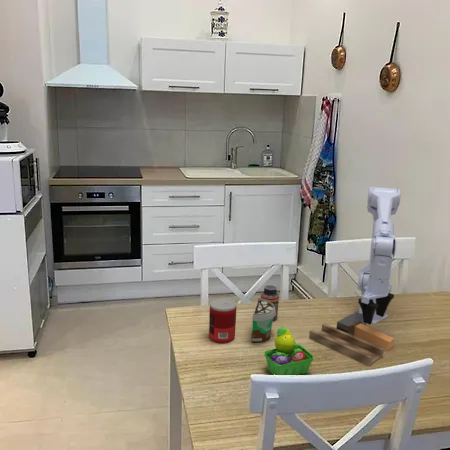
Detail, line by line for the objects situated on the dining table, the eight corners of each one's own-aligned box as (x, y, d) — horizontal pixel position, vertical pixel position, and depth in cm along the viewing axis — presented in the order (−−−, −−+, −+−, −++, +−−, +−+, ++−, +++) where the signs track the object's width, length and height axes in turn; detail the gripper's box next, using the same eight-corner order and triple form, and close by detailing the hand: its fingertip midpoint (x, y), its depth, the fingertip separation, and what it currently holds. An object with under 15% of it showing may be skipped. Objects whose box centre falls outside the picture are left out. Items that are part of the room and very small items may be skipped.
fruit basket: (275, 383, 118) (279, 343, 115) (259, 365, 125) (262, 327, 123) (313, 375, 122) (317, 336, 119) (295, 358, 130) (298, 321, 127)
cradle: (308, 339, 140) (309, 330, 140) (323, 332, 145) (324, 323, 145) (368, 367, 126) (370, 357, 126) (382, 358, 132) (383, 348, 131)
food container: (271, 348, 135) (274, 316, 132) (250, 345, 136) (252, 314, 133) (275, 329, 146) (278, 299, 144) (256, 326, 147) (258, 297, 145)
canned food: (240, 337, 140) (241, 303, 137) (222, 346, 134) (223, 311, 132) (221, 328, 145) (223, 296, 142) (203, 337, 139) (204, 303, 137)
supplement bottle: (267, 325, 149) (269, 292, 146) (255, 318, 153) (257, 286, 150) (280, 320, 152) (283, 288, 149) (268, 313, 157) (270, 282, 154)
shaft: (340, 329, 146) (341, 320, 145) (346, 326, 148) (347, 317, 147) (387, 351, 135) (389, 342, 134) (392, 348, 137) (394, 338, 136)
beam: (354, 325, 151) (356, 311, 149) (365, 330, 148) (367, 316, 147) (335, 336, 143) (337, 321, 142) (346, 341, 140) (348, 326, 139)
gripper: (378, 267, 143) (373, 308, 146) (354, 278, 133) (349, 321, 137) (400, 273, 138) (394, 315, 142) (376, 285, 128) (370, 330, 132)
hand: (373, 319), depth 139 cm, fingers open, 7 cm apart
